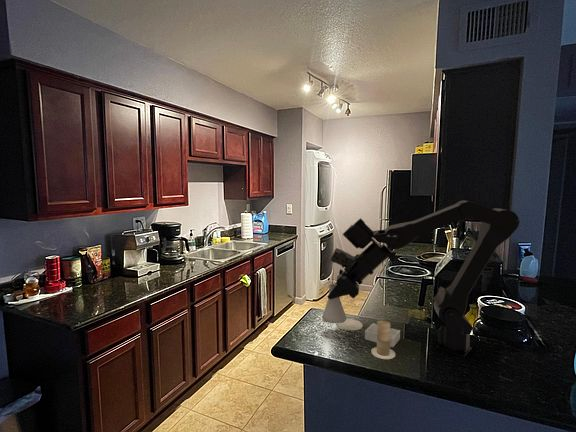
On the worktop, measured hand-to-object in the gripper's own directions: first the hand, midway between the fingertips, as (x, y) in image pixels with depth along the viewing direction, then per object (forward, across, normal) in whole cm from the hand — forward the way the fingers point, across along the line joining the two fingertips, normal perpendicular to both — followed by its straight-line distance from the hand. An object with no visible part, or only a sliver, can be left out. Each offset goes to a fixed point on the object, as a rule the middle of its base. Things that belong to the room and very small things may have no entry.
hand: (329, 296), depth 90 cm
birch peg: (-2, +7, +19) cm, 20 cm away
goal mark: (+4, -8, +12) cm, 15 cm away
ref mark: (-2, +7, +19) cm, 20 cm away
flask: (+4, 0, +6) cm, 7 cm away
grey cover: (-2, -1, +19) cm, 19 cm away
